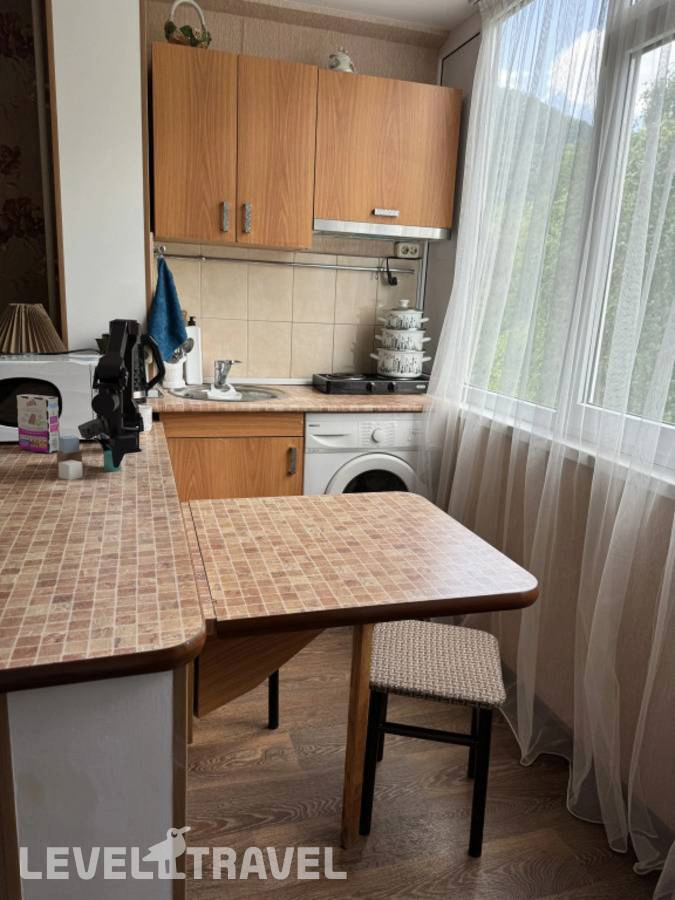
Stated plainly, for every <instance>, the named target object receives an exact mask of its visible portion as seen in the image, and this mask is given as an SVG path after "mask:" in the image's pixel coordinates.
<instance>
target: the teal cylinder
mask: <svg viewBox="0 0 675 900" xmlns="http://www.w3.org/2000/svg"><path fill="white" fill-rule="evenodd" d="M119 470H120V471H121V470H122V462H121V463H120V465H119V467H118V468H114V465H113V459H112V453H111V450H107V451H104V454H103V471H104V472H109V473H111V472H113V473H114V471H115V472H119Z"/></svg>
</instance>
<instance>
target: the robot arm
mask: <svg viewBox="0 0 675 900" xmlns="http://www.w3.org/2000/svg"><path fill="white" fill-rule="evenodd" d="M142 332H143V331H142V323H139V321H138V320H137V319H123V318H115V319H113V320H109V321H108V334H109V339H108V343H107V347H106V351H105V354H104V355H102V356H101V357H100V358H99V359H98V361H97V365H95V367H94V372H93V379H92V386H91V389H92V390H98V392H97V394H96V395H94V396H93V397H92V399H91V402H90V403H91V404H90V407H91V409H92V411H93V412H94V413H95V414H96V416H95V417H96V418H94V419H91V420H88V421H86V422H84V423H82V424H80V425H77V429H78V431H79V433H80V436H81V438H82V439H85V440H86V441H89V440H92V439H93V440H94V441H96V442H97V443H98V444H99V445H100V448H101V451H102V453H103V455H104V451H107V450H111V453H112V459H113V465H114V468H118V467H119V465H120V463H121V464H122V461H123V459H124V457H125V456H126V454H127V453H128V454H129V453H137V452H143V449H142V448H140V433H142V432H143V433H144V431H145V425H144V424H145V423H144V418H143V416H142V413H141V412H140V405H139V404H138V403H137V401H136V399H135V397H134V396H135V394H134V393H135V349H136V347H137V346H138V344H139V343H140V337H141V336H142Z"/></svg>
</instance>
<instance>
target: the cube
mask: <svg viewBox="0 0 675 900" xmlns="http://www.w3.org/2000/svg"><path fill="white" fill-rule="evenodd" d="M57 466H58V478H60V479H64V480H68V481H71V480H74V479H78V478H79V479H80V478H82V477H83V461H82V462H79V461H75V460H68V461H63V462H59V463H58V464H57Z"/></svg>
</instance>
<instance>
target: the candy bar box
mask: <svg viewBox="0 0 675 900" xmlns="http://www.w3.org/2000/svg"><path fill="white" fill-rule="evenodd" d="M59 406H60V405H59V397H58V396H51V395H40V394H31V393H25V394H19V395H17V394H16V408H17V412H16V413H17V428H18V429H17V431H18V449H19V450H21V451H27V452H28V451H29V452H36V453H43V454H44V453H45V454H53V453H57V450H59V436H61V434H60V416H59V415H60V412H59Z"/></svg>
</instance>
